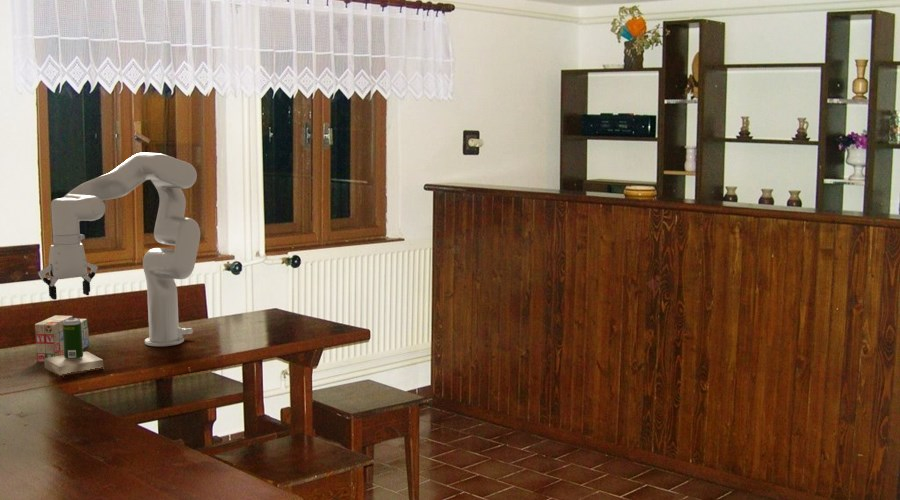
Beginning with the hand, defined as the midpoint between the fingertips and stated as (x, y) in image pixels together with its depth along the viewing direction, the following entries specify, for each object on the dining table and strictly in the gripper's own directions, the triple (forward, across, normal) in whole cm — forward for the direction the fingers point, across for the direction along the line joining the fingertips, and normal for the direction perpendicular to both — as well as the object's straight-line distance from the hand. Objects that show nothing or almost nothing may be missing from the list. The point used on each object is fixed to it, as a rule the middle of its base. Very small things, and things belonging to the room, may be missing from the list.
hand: (70, 296), depth 311 cm
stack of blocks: (+22, -4, -20) cm, 30 cm away
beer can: (+19, 0, 0) cm, 19 cm away
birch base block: (+22, 0, 0) cm, 22 cm away
